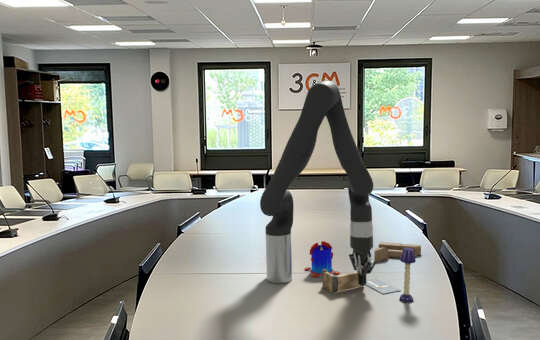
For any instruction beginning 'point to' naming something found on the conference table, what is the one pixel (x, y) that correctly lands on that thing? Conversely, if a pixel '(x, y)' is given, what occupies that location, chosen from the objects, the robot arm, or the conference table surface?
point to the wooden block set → (394, 250)
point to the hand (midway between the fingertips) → (362, 284)
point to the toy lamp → (407, 273)
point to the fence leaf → (345, 282)
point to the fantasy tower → (321, 259)
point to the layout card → (381, 286)
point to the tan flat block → (327, 280)
